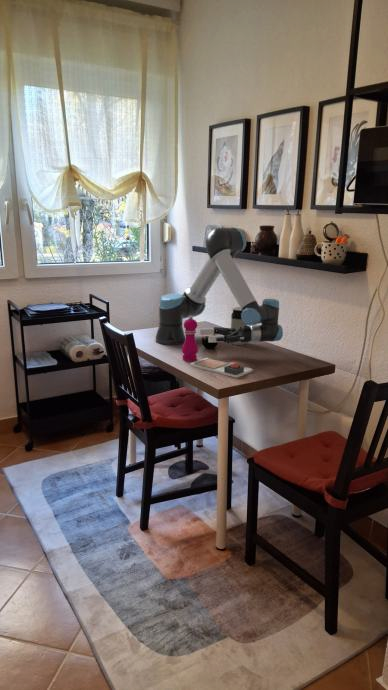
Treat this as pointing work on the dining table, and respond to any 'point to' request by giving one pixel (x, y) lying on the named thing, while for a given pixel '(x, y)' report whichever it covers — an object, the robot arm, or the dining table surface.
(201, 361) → the picture board
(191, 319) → the pepper mill
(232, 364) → the button
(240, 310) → the travel mug
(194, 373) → the dining table surface
